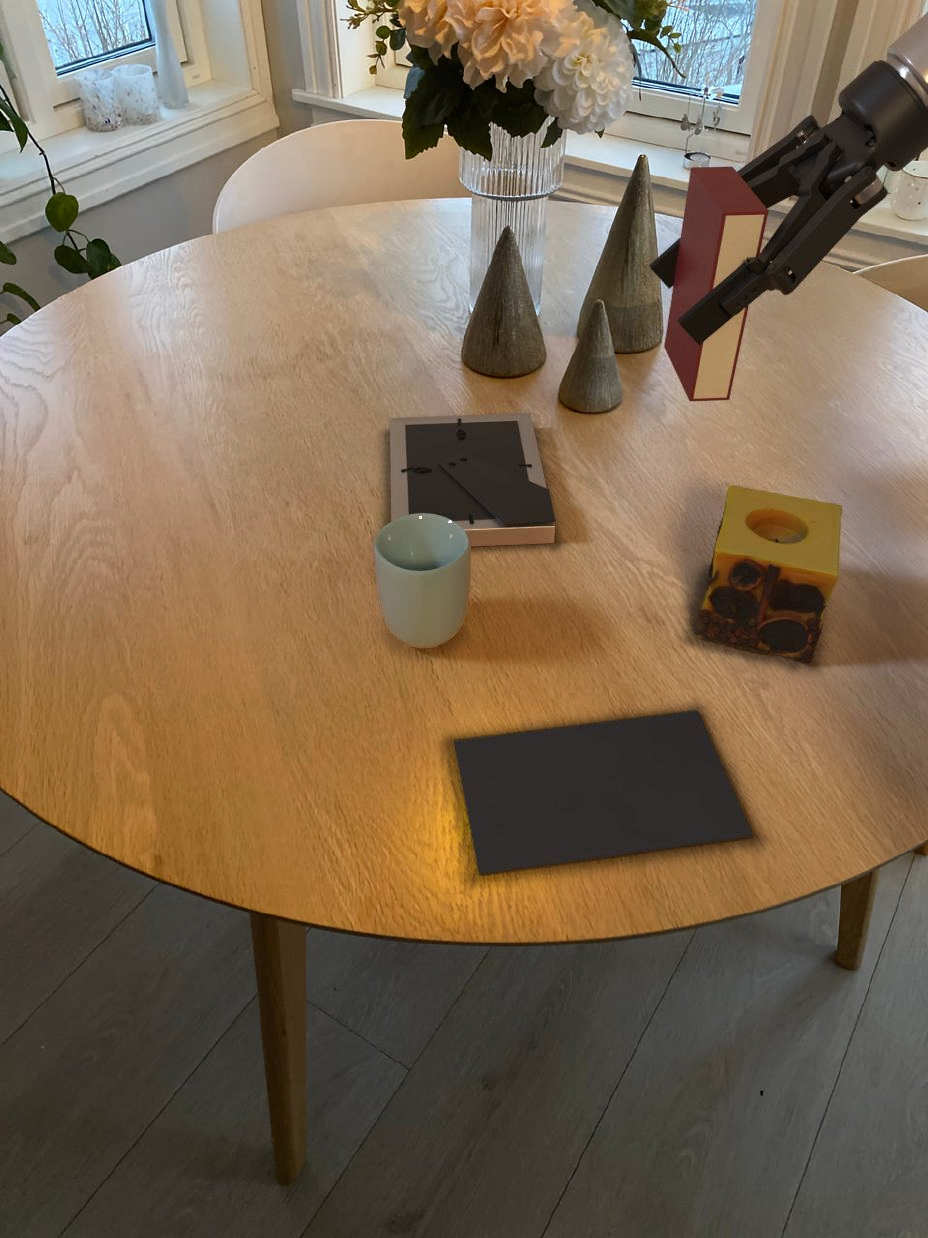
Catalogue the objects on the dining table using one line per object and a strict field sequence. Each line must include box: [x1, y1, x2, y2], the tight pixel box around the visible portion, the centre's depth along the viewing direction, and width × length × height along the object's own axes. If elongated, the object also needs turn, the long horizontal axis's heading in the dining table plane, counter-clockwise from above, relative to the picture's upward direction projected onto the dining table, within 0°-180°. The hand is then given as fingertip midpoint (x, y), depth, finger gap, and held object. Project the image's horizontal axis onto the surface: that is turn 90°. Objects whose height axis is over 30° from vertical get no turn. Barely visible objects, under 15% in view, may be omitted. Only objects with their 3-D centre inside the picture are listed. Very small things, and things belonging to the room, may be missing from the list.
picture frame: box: [389, 412, 557, 548], centre depth 100 cm, size 16×3×21 cm
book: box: [663, 165, 769, 402], centre depth 81 cm, size 10×4×16 cm, turn 4°
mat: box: [453, 710, 754, 876], centre depth 72 cm, size 20×12×1 cm, turn 99°
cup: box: [372, 513, 472, 649], centre depth 81 cm, size 8×8×10 cm
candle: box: [693, 484, 843, 665], centre depth 83 cm, size 10×10×10 cm
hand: (673, 303), depth 81 cm, fingers closed on book, 10 cm apart
